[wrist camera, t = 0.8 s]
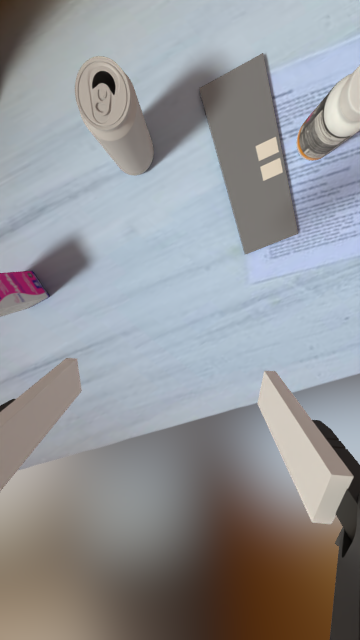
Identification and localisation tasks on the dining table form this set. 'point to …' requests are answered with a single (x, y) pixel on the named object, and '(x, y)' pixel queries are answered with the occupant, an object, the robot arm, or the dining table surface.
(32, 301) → the supplement box
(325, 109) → the pill bottle
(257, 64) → the slate board
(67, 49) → the dining table surface
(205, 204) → the dining table surface
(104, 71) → the beverage can
